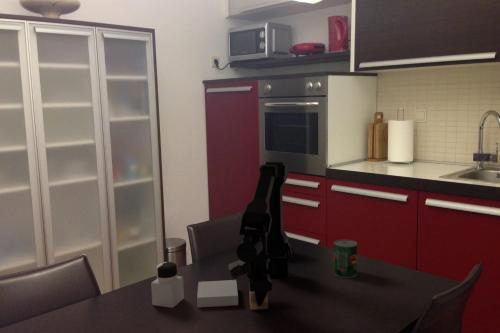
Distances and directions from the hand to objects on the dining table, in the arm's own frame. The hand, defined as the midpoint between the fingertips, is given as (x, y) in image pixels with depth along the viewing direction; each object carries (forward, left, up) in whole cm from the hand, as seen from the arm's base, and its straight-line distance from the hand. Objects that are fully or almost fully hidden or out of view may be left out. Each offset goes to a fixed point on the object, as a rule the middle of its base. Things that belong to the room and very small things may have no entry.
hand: (258, 302), depth 134 cm
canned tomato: (-32, -21, -1) cm, 38 cm away
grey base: (+12, -7, -1) cm, 14 cm away
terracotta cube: (0, 0, -1) cm, 1 cm away
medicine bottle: (+27, -6, -1) cm, 28 cm away
